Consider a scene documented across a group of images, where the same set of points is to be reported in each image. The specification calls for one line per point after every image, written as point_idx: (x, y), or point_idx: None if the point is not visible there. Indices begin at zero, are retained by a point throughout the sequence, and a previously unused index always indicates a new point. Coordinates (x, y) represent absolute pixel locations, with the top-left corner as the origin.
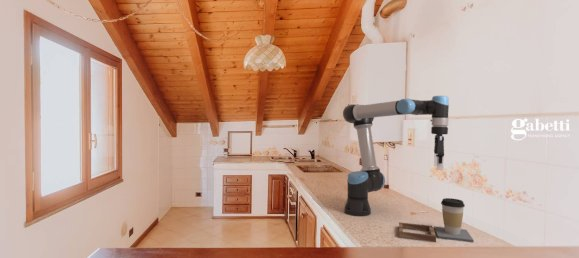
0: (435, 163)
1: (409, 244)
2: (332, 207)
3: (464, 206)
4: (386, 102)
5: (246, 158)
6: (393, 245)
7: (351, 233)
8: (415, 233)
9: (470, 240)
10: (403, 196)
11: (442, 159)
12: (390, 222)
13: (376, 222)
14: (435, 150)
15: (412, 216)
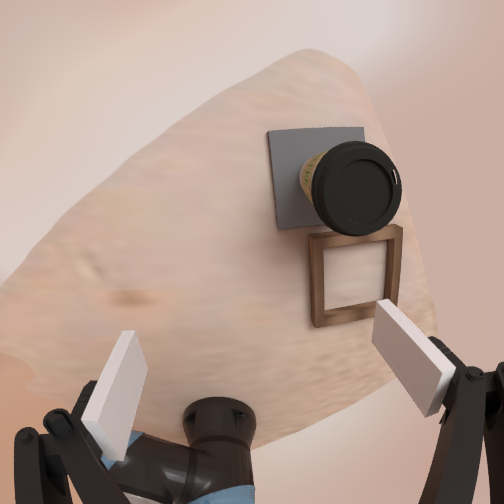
0: (139, 377)
1: (421, 279)
2: None
3: (371, 144)
4: None
5: None
6: (430, 306)
7: (383, 385)
8: (395, 277)
9: (363, 134)
10: None
11: (438, 357)
12: (274, 345)
13: (290, 372)
14: (123, 493)
15: (171, 298)
